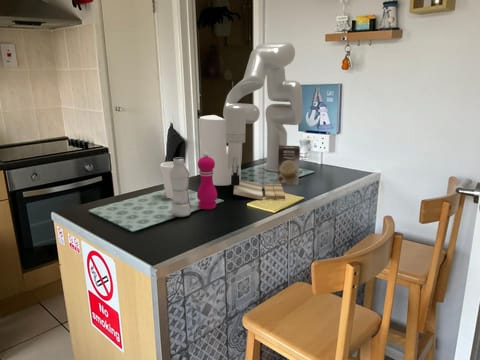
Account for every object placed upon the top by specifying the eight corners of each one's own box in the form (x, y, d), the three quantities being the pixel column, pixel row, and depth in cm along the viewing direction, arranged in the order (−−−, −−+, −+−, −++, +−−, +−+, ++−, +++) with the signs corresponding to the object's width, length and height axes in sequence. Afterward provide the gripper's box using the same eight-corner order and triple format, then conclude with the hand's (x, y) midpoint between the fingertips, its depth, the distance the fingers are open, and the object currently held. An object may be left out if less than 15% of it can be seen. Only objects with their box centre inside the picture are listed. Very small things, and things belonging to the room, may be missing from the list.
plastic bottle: (183, 220, 132) (180, 161, 127) (167, 216, 136) (164, 159, 130) (195, 214, 137) (193, 157, 132) (180, 211, 141) (177, 155, 135)
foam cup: (190, 197, 155) (189, 165, 152) (167, 201, 151) (165, 168, 147) (180, 191, 163) (179, 160, 159) (159, 195, 158) (156, 163, 155)
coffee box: (277, 185, 171) (277, 148, 166) (277, 181, 177) (277, 145, 173) (298, 185, 170) (300, 148, 166) (298, 181, 176) (299, 145, 172)
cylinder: (207, 187, 168) (205, 120, 161) (197, 177, 184) (195, 115, 176) (246, 183, 174) (246, 118, 166) (233, 173, 189) (233, 114, 182)
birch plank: (234, 182, 166) (235, 178, 166) (260, 187, 167) (261, 184, 166) (233, 193, 151) (234, 190, 151) (261, 199, 151) (262, 196, 151)
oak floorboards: (263, 188, 167) (264, 184, 166) (281, 188, 167) (281, 184, 166) (265, 200, 152) (265, 196, 151) (284, 200, 151) (285, 196, 151)
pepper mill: (202, 211, 140) (200, 155, 135) (194, 205, 147) (192, 151, 141) (220, 208, 144) (219, 153, 138) (212, 202, 150) (211, 149, 144)
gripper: (226, 135, 160) (226, 180, 165) (224, 141, 146) (224, 189, 150) (245, 135, 160) (245, 180, 165) (245, 141, 146) (244, 190, 150)
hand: (235, 184), depth 157 cm, fingers closed
